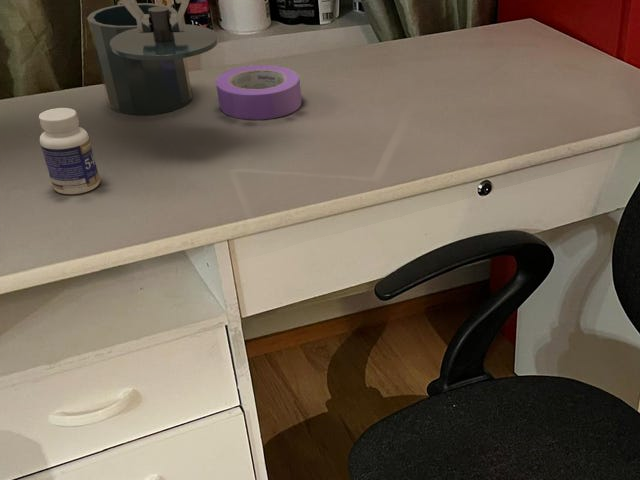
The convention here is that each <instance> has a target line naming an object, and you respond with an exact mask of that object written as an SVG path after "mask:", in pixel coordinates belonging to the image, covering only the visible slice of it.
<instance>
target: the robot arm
mask: <svg viewBox="0 0 640 480" xmlns="http://www.w3.org/2000/svg"><path fill="white" fill-rule="evenodd" d="M121 2H122V5H124V6H125V7H126V8H127V9H128V11H129V12H130V13H131V14H132V16H133V17H134V18H136V21H137V25H138V30H139V33H152V27H151V22H150V17H149V14H144V13H143V12H142V10H141V9H140V8H139V6H138V5H137V4H136V3H137V0H121ZM189 2H190V0H175V3H176V4H180V6H179V8H178V11H177V12H178V13H177V14H171V15H170V17H169V21H170V24H171V25H172V26H171V31H172V32H185V30H186V26H185V24H186V20H185V13H186V11H187V8H188V6H189Z"/></svg>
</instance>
